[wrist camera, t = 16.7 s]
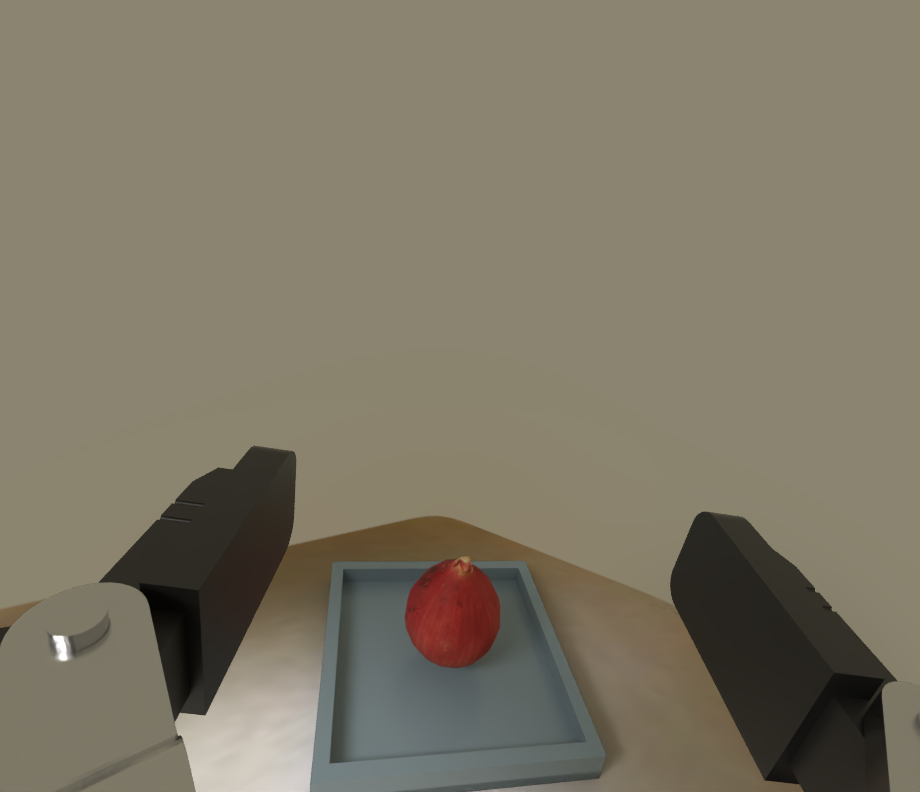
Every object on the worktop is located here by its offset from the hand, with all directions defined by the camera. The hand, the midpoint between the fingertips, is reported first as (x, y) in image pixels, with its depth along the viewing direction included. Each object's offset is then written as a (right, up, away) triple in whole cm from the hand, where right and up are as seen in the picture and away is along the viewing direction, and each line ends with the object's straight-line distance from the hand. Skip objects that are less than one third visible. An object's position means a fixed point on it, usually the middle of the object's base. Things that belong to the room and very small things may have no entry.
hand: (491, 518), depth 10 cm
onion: (-2, -14, +22) cm, 26 cm away
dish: (-2, -15, +22) cm, 27 cm away
